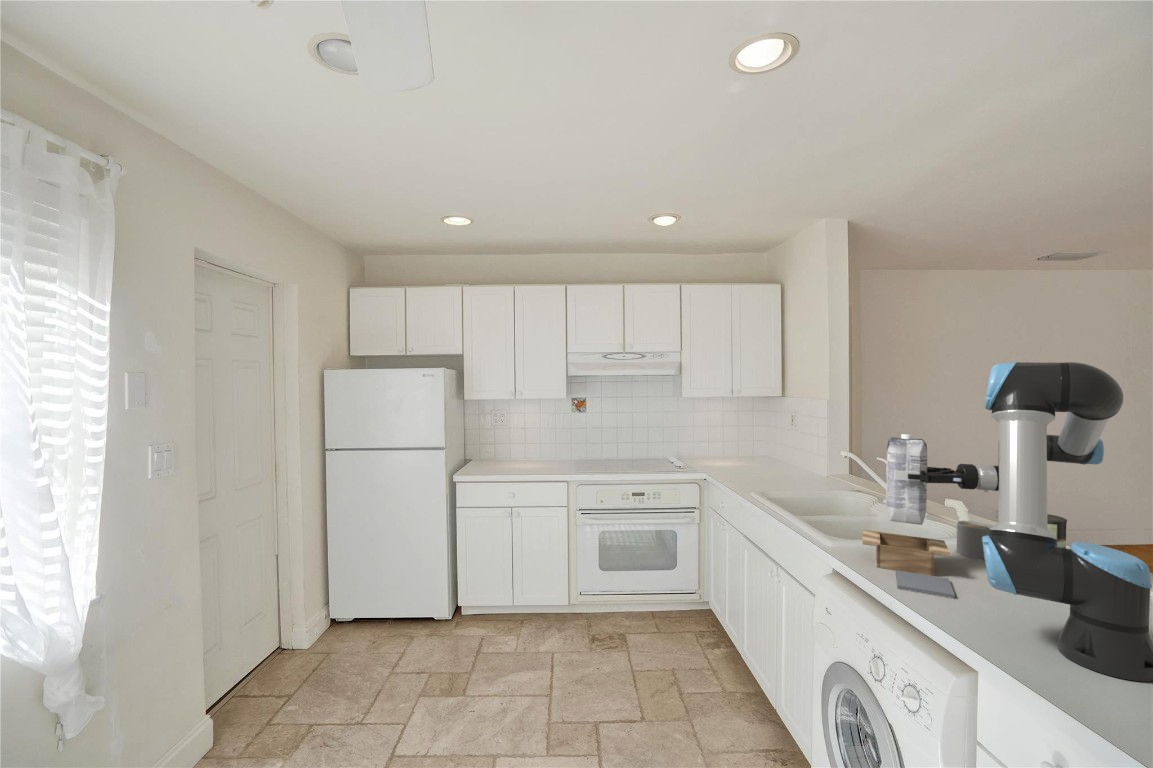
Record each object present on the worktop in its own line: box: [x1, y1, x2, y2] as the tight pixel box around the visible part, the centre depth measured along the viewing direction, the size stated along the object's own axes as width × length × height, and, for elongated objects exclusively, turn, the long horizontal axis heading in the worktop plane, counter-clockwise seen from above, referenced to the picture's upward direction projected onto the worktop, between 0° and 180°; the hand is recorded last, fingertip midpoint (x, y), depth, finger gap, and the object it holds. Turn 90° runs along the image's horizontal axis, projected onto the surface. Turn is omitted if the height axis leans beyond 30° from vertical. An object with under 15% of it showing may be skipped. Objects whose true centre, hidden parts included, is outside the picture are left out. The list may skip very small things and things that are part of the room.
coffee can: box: [1047, 513, 1068, 549], centre depth 169 cm, size 10×10×14 cm
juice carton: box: [885, 433, 928, 526], centre depth 164 cm, size 9×10×27 cm
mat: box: [895, 570, 956, 599], centre depth 149 cm, size 13×13×1 cm
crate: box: [862, 529, 952, 576], centre depth 165 cm, size 16×23×7 cm
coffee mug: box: [955, 520, 994, 561], centre depth 173 cm, size 13×10×10 cm
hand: (890, 472), depth 165 cm, fingers closed on juice carton, 10 cm apart
